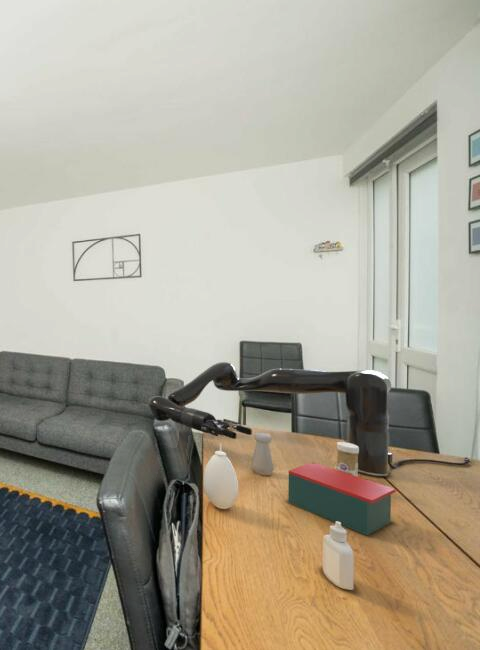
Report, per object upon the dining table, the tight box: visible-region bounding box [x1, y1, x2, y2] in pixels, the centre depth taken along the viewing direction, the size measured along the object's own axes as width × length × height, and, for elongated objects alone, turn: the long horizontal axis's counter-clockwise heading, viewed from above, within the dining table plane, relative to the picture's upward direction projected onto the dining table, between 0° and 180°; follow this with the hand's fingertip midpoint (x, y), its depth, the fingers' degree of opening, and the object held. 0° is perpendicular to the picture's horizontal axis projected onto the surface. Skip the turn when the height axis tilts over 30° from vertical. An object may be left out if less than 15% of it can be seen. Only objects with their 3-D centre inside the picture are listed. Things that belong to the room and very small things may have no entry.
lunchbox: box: [287, 473, 392, 536], centre depth 95 cm, size 16×13×8 cm
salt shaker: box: [251, 432, 275, 476], centre depth 118 cm, size 6×6×13 cm
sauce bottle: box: [203, 442, 239, 510], centre depth 98 cm, size 8×8×18 cm
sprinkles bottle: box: [336, 441, 359, 477], centre depth 107 cm, size 5×5×14 cm
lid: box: [288, 461, 397, 503], centre depth 95 cm, size 16×13×1 cm
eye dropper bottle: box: [322, 521, 355, 591], centre depth 72 cm, size 4×6×12 cm
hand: (243, 434), depth 123 cm, fingers open, 8 cm apart
